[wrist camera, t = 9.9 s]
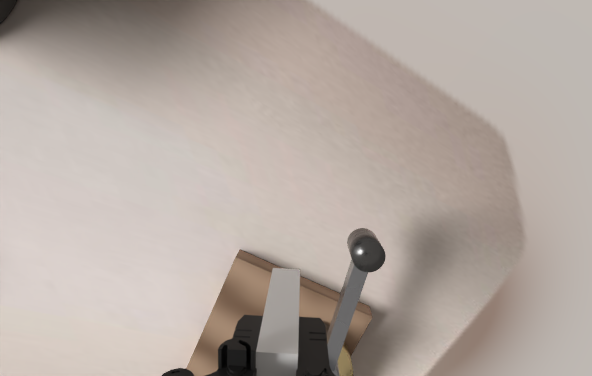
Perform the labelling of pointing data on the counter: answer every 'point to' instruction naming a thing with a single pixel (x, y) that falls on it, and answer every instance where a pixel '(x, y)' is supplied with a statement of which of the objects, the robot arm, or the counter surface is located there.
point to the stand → (251, 301)
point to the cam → (351, 296)
